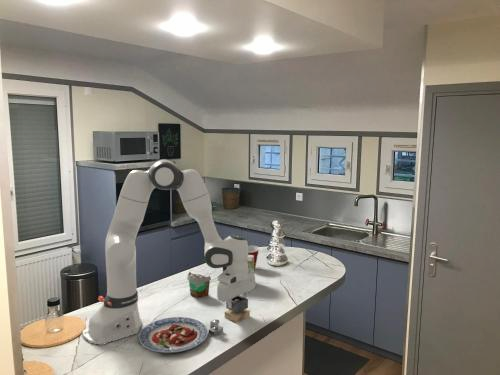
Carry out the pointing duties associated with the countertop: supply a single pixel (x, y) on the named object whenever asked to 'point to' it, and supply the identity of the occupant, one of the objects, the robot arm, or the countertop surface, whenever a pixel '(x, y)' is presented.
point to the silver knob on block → (215, 329)
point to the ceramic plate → (173, 334)
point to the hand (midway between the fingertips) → (237, 304)
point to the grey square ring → (238, 304)
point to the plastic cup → (253, 253)
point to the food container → (198, 285)
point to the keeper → (237, 314)
